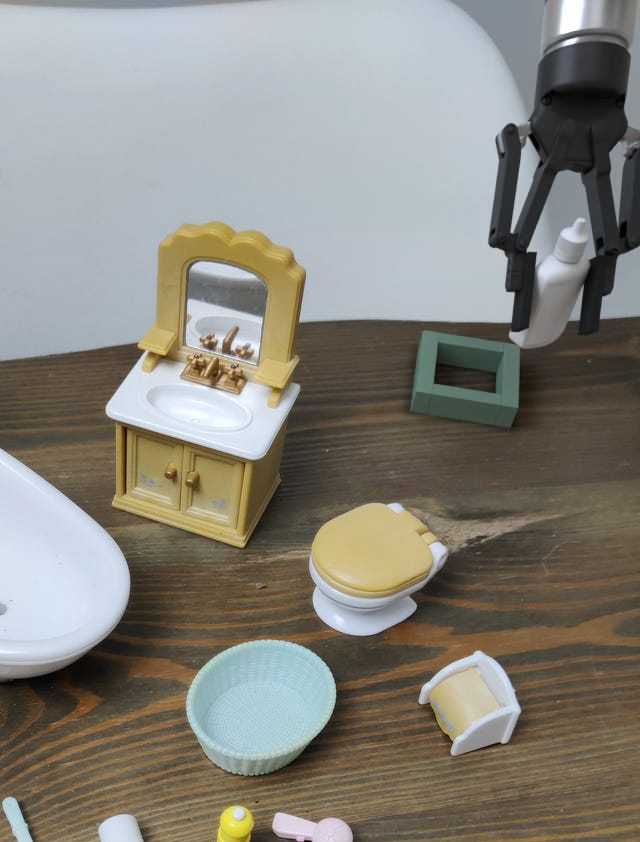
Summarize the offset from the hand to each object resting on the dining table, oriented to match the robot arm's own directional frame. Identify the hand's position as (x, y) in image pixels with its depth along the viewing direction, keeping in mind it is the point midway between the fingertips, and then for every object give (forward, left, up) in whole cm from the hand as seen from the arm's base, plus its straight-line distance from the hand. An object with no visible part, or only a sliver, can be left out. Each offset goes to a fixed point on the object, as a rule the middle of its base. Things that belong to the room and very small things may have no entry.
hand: (553, 331), depth 89 cm
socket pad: (+4, -13, -18) cm, 23 cm away
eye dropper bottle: (+1, -4, -4) cm, 5 cm away
